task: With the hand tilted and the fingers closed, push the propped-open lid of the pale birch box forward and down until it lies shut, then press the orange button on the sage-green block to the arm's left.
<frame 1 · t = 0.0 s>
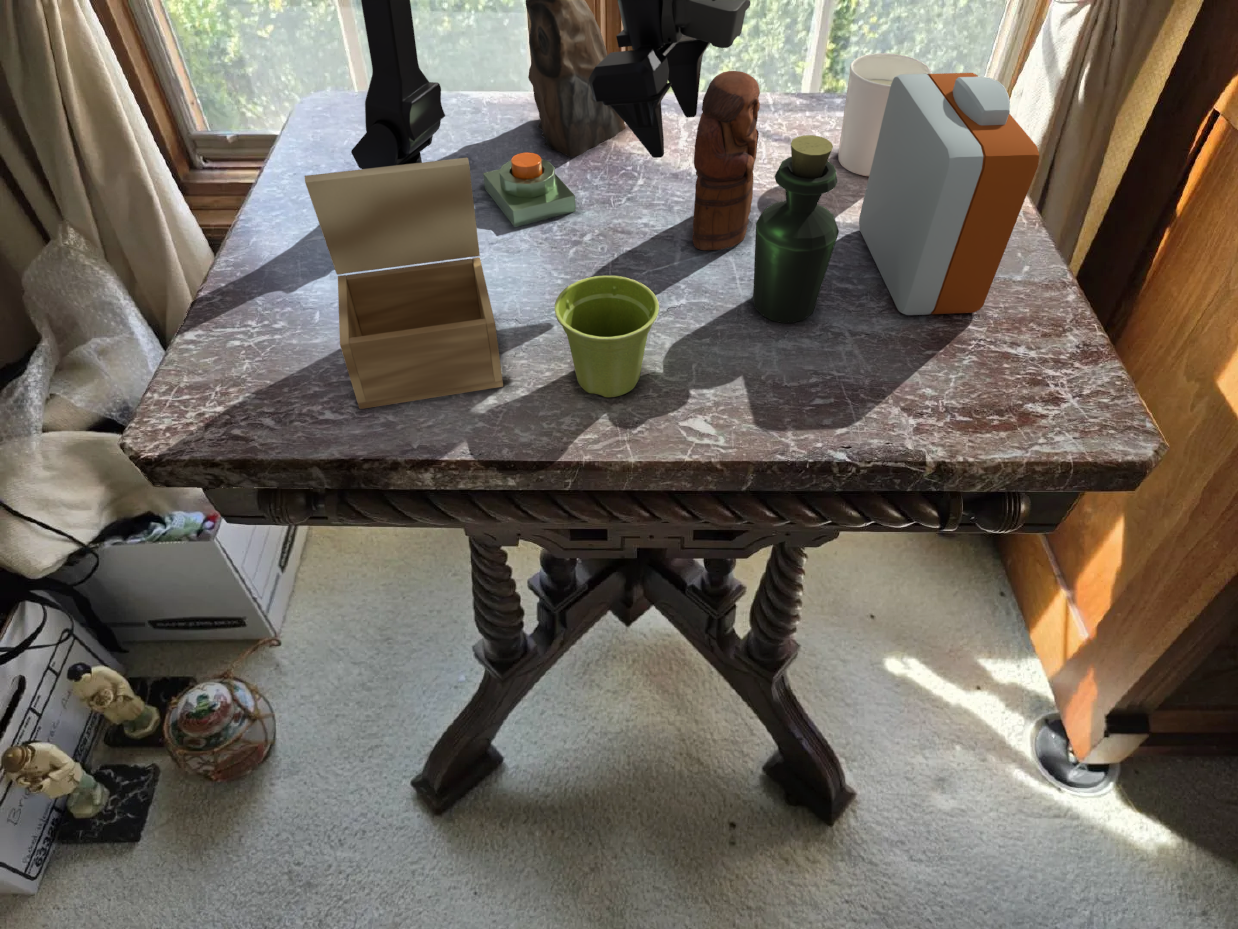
hand: (675, 135, 84), 15 cm above the table, tool pointing down, fingers open, 9 cm apart
plant pot: (607, 379, 83), on the table
button block: (529, 200, 105), on the table
chest: (427, 362, 84), on the table
alarm clock: (913, 270, 96), on the table
potion bottle: (783, 306, 91), on the table
button: (526, 166, 102), point 4 cm above the table, slide at 0.1 cm
wooden figurine: (720, 229, 101), on the table
candle holder: (869, 162, 112), on the table
lid: (399, 218, 77), point 14 cm above the table, hinge at 75.0°
owl: (580, 135, 117), on the table
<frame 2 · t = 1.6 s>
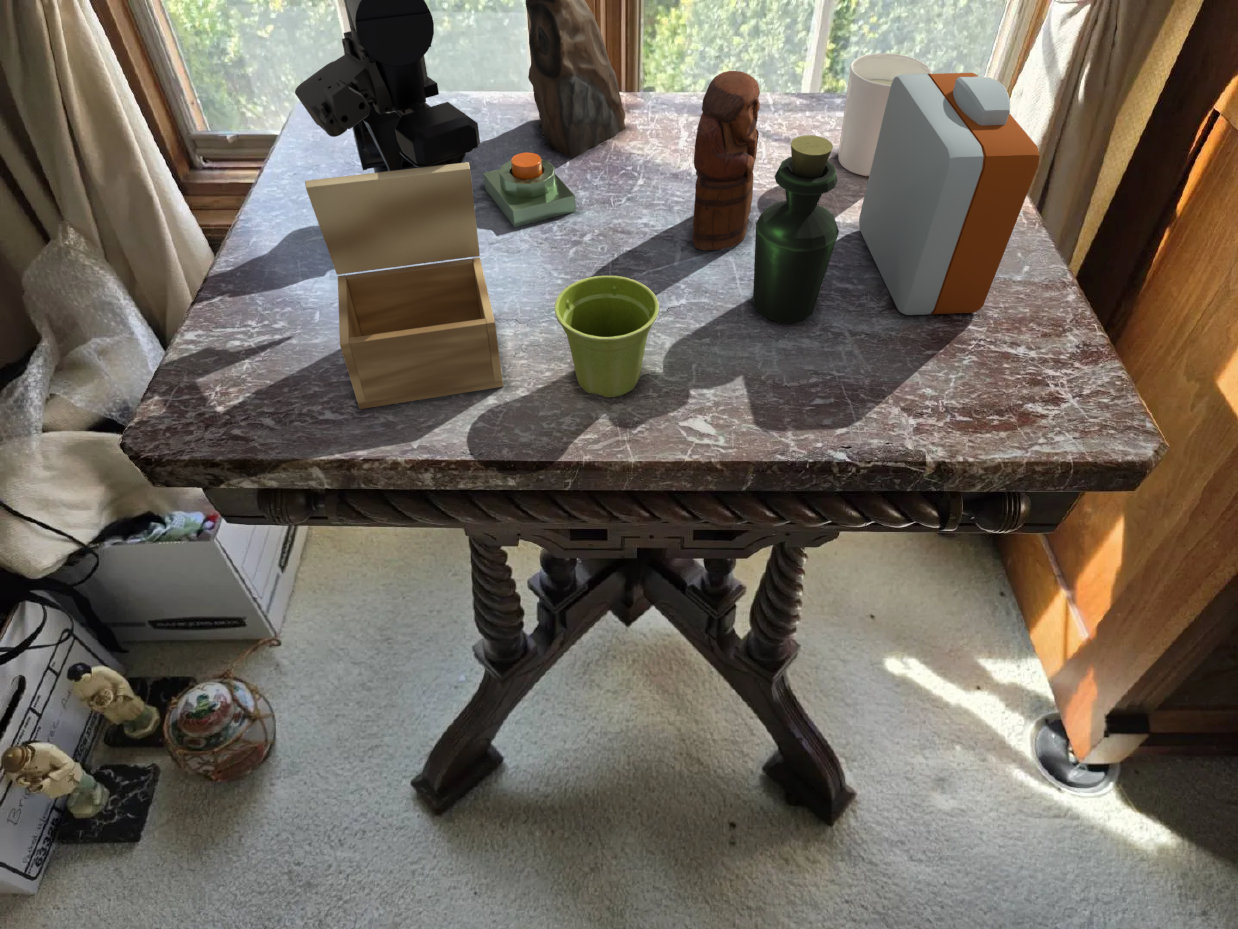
hand: (417, 190, 83), 12 cm above the table, tool pointing down, fingers open, 9 cm apart
lid: (399, 221, 76), point 14 cm above the table, hinge at 72.1°
everything else where it was.
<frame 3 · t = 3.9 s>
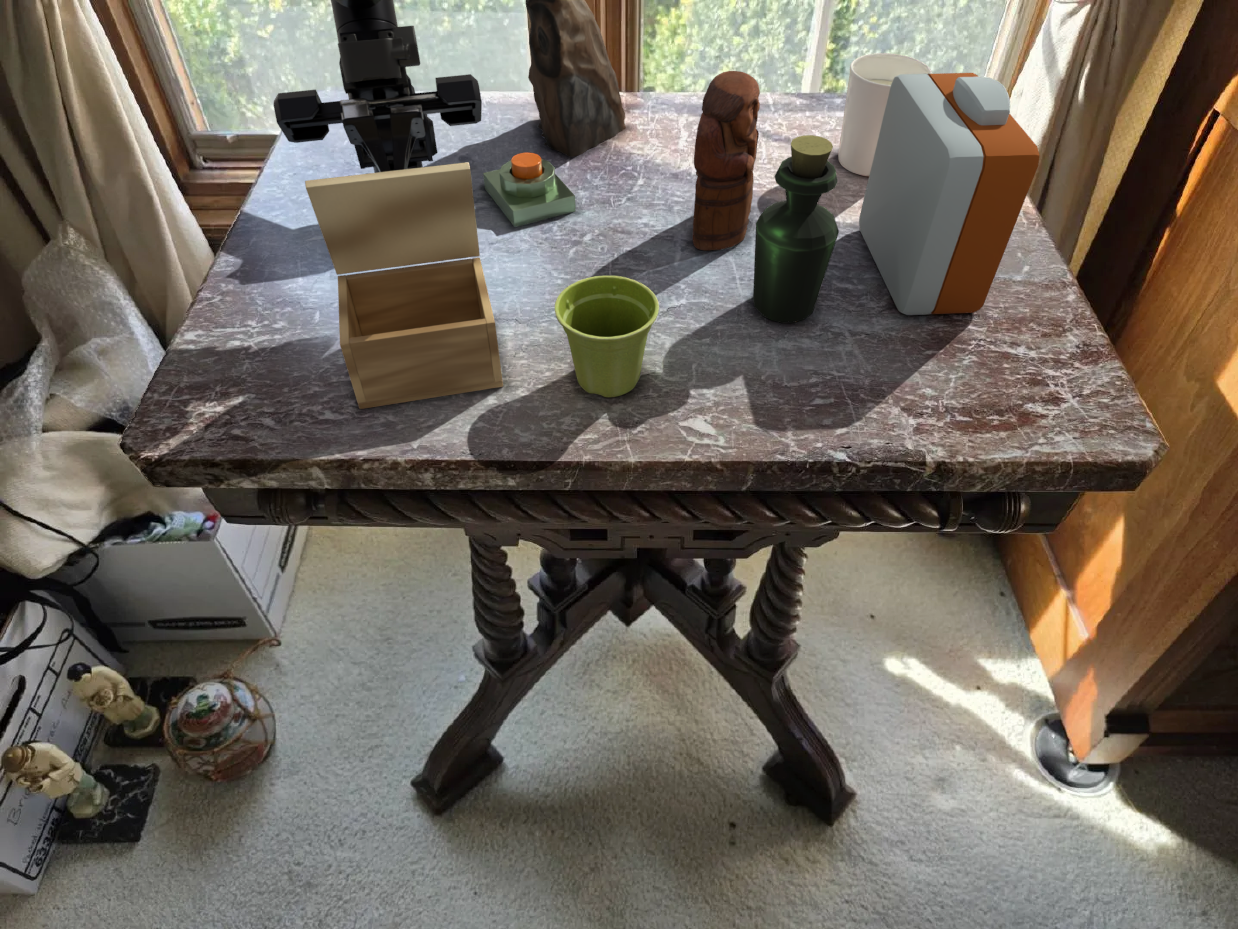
hand: (397, 198, 81), 12 cm above the table, tool tilted 45°, fingers closed
nothing on the table moved.
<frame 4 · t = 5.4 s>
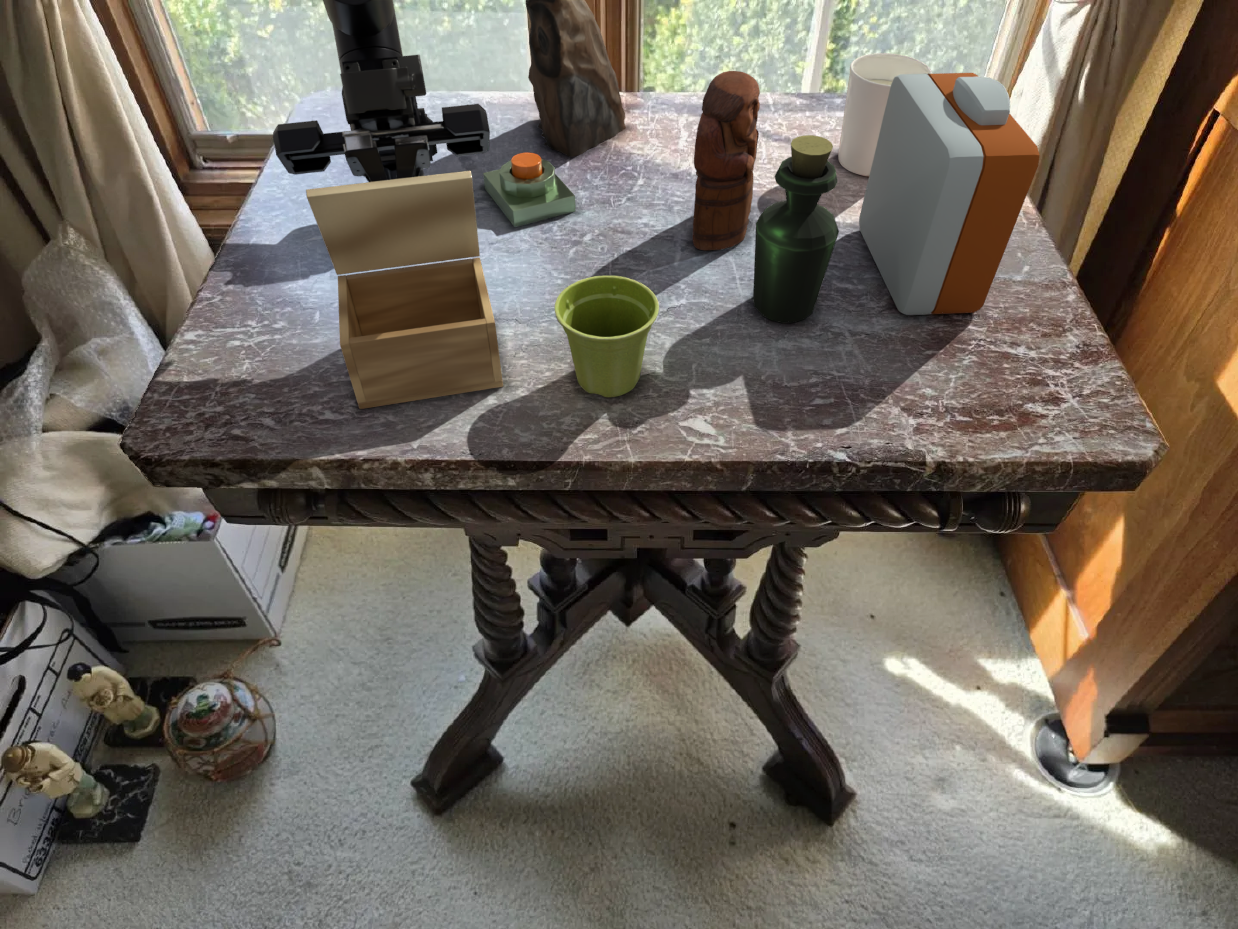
hand: (402, 232, 78), 12 cm above the table, tool tilted 45°, fingers closed, pressing on lid
lid: (400, 225, 76), point 14 cm above the table, hinge at 67.2°, touching gripper
everything else where it was.
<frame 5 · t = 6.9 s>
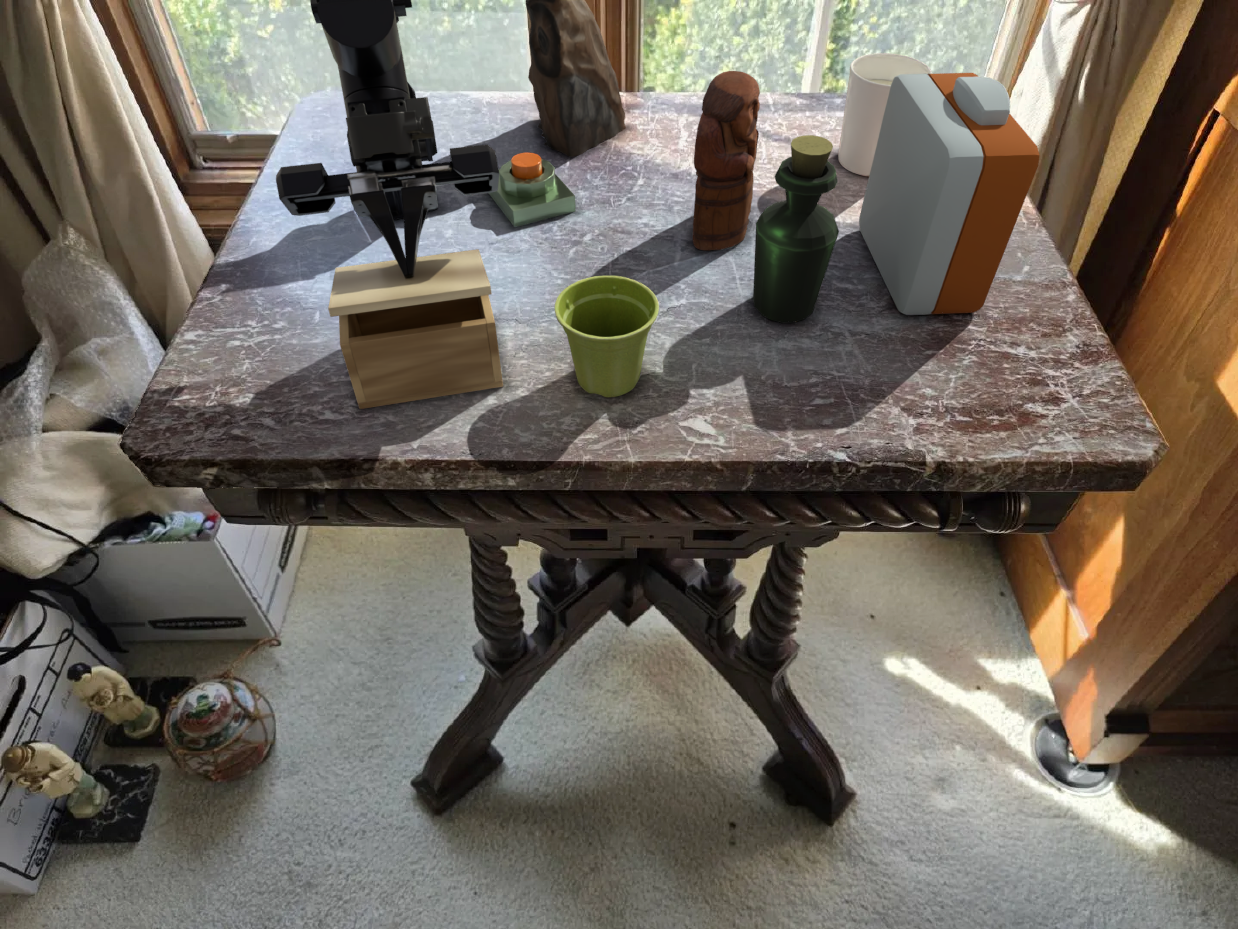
hand: (409, 276, 76), 11 cm above the table, tool tilted 45°, fingers closed, pressing on lid
lid: (410, 280, 77), point 10 cm above the table, hinge at 16.7°, touching gripper
everything else where it was.
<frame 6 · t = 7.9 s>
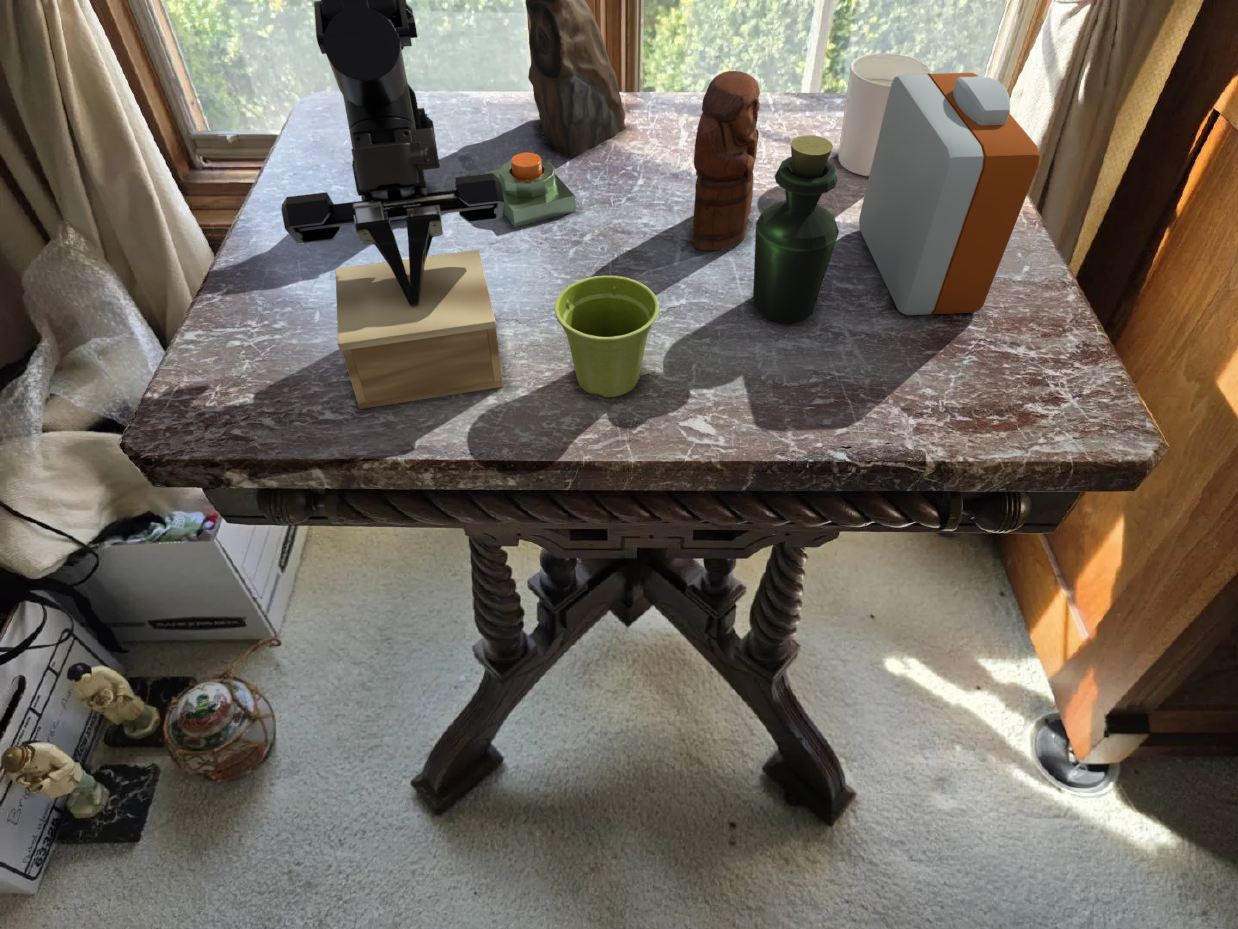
hand: (414, 304, 76), 9 cm above the table, tool tilted 45°, fingers closed, pressing on lid
lid: (413, 297, 78), point 8 cm above the table, hinge at -0.3°, touching chest, gripper
everything else where it was.
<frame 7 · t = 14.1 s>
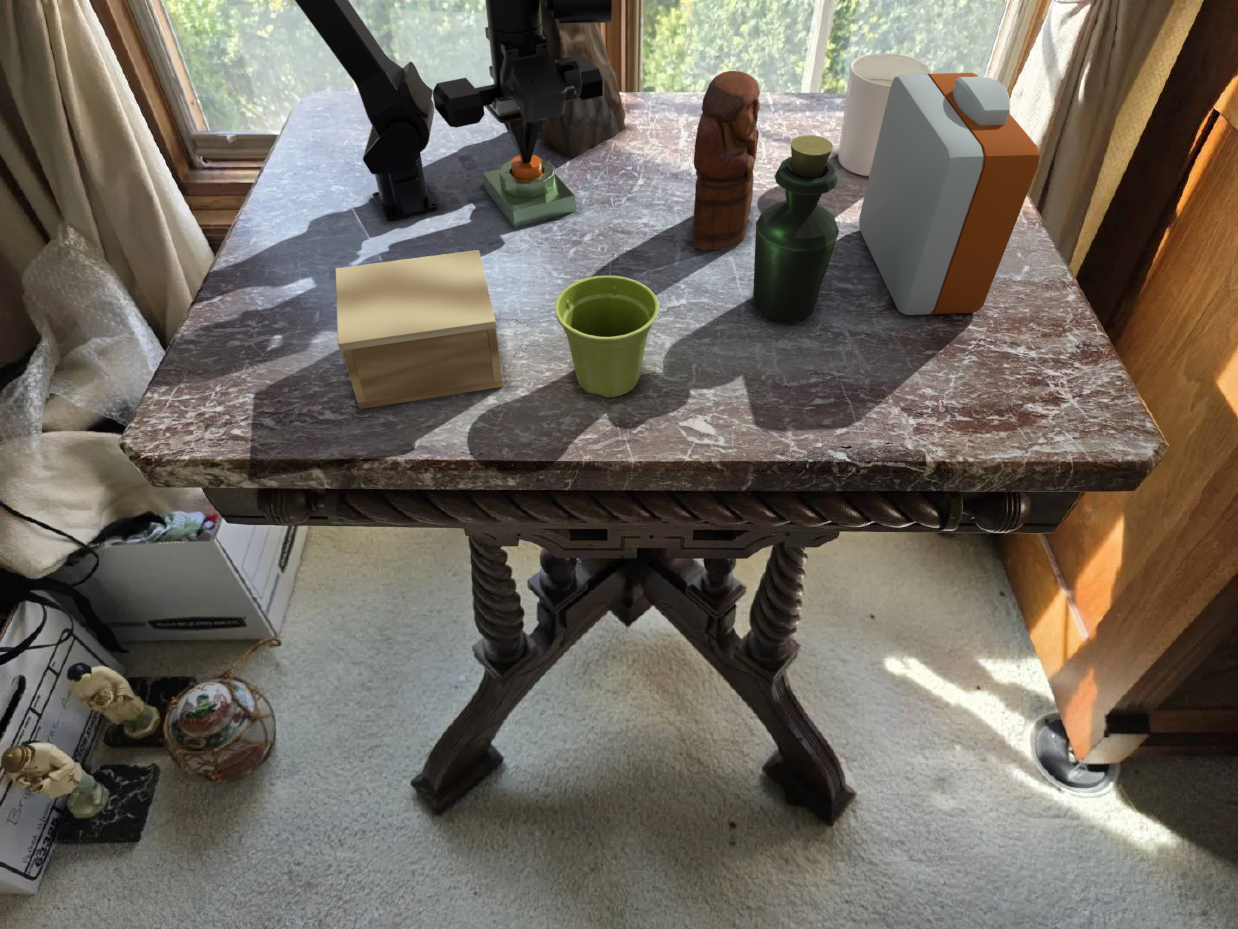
hand: (525, 161, 101), 5 cm above the table, tool pointing down, fingers closed, pressing on button
button: (526, 168, 102), point 4 cm above the table, slide at -0.1 cm, touching gripper
lid: (413, 297, 78), point 8 cm above the table, hinge at -0.3°, touching chest
everything else where it was.
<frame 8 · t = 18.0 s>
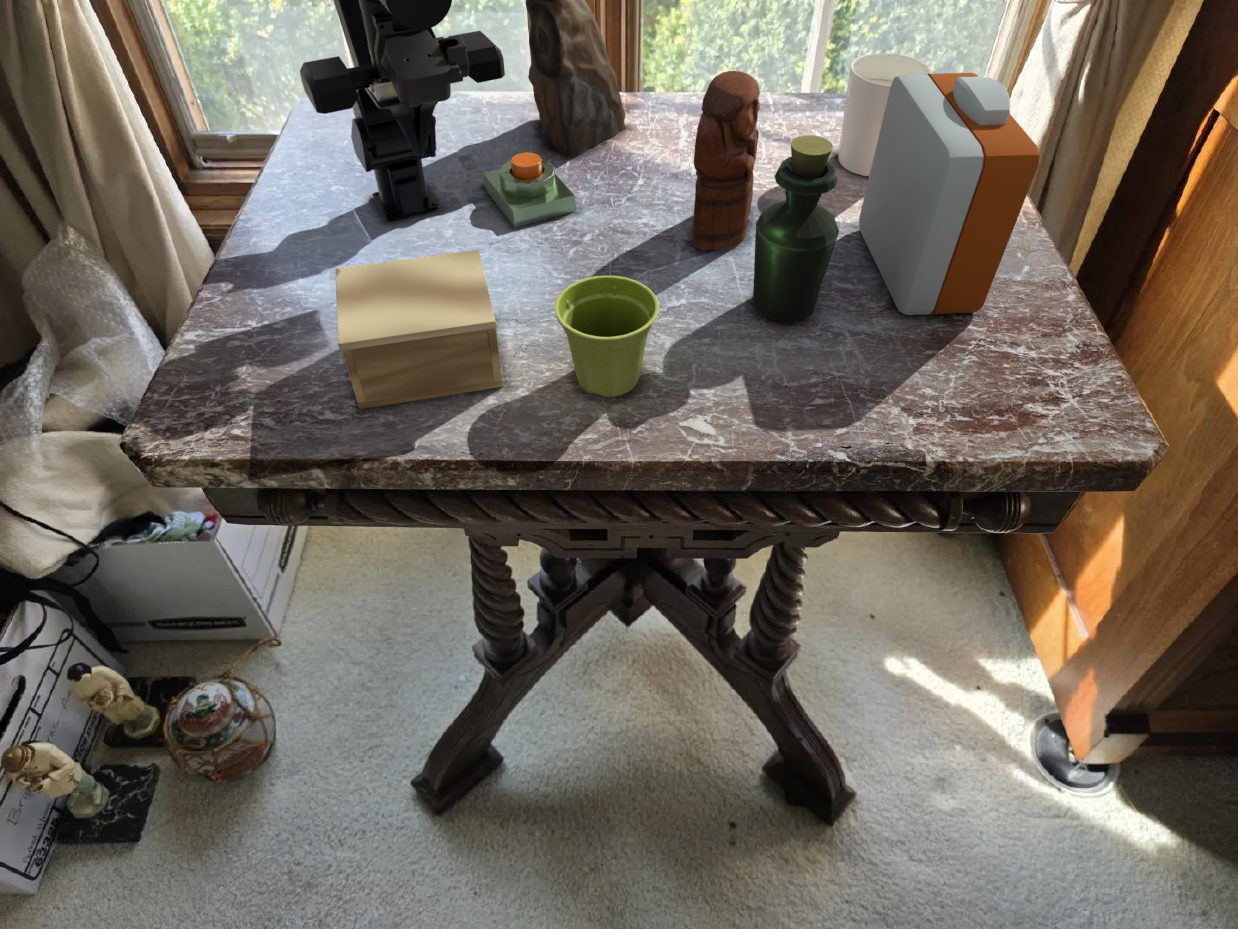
hand: (419, 153, 88), 12 cm above the table, tool pointing down, fingers closed
button: (526, 166, 102), point 4 cm above the table, slide at 0.1 cm
everything else where it was.
at the end: lid at +0° (first picture: +75°); button pushed in 1.2 cm at the most during the clip, back to where it started at the end; button slide at 0.1 cm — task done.
